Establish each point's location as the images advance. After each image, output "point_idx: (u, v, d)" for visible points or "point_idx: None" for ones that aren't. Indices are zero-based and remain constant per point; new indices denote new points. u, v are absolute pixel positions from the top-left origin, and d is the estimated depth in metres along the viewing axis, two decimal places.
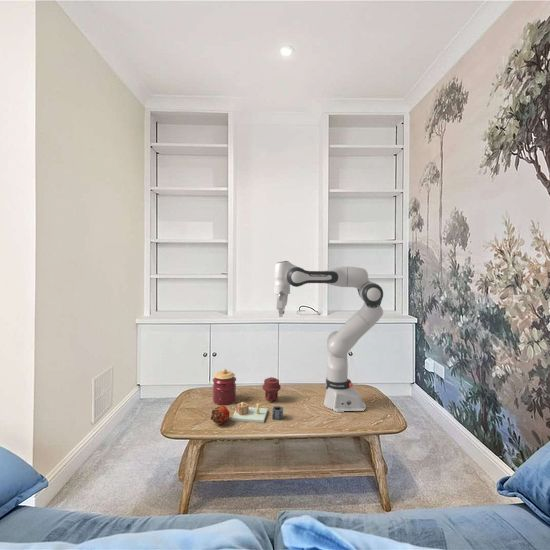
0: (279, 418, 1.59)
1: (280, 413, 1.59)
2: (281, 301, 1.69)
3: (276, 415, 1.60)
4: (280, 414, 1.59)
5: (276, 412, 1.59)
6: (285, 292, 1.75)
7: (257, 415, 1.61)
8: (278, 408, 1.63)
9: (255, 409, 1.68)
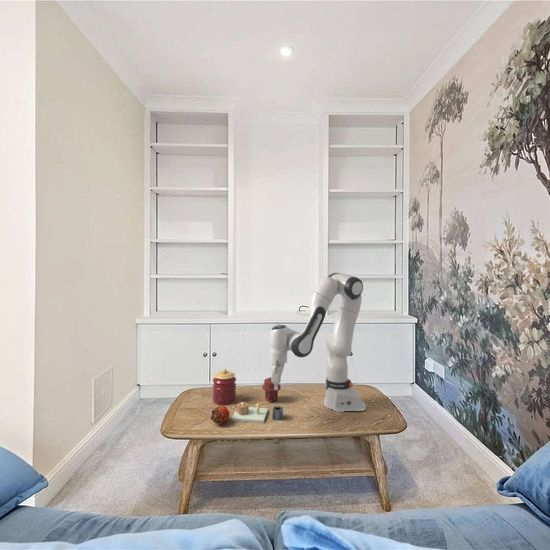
0: (279, 418, 1.59)
1: (280, 413, 1.59)
2: (277, 374, 1.51)
3: (276, 415, 1.60)
4: (280, 414, 1.59)
5: (276, 412, 1.59)
6: (281, 362, 1.57)
7: (257, 415, 1.61)
8: (278, 408, 1.63)
9: (255, 409, 1.68)
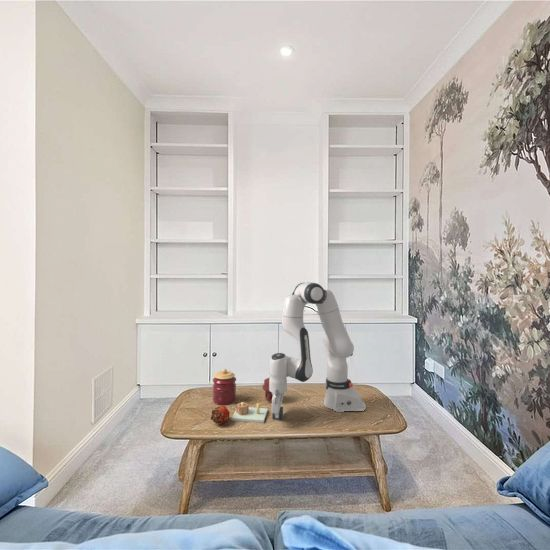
0: (279, 418, 1.60)
1: (280, 413, 1.59)
2: (277, 405, 1.52)
3: None
4: (280, 414, 1.59)
5: None
6: (281, 391, 1.57)
7: (257, 415, 1.61)
8: None
9: (255, 409, 1.68)
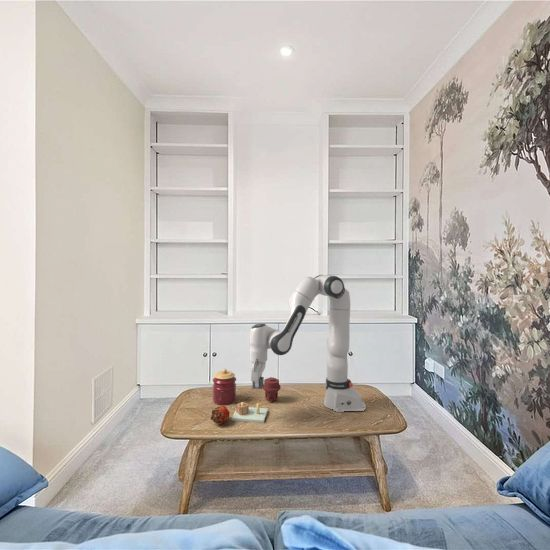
0: (259, 387, 1.60)
1: (260, 382, 1.60)
2: (256, 372, 1.53)
3: None
4: (260, 383, 1.60)
5: None
6: (261, 360, 1.58)
7: (257, 415, 1.61)
8: None
9: (255, 409, 1.68)
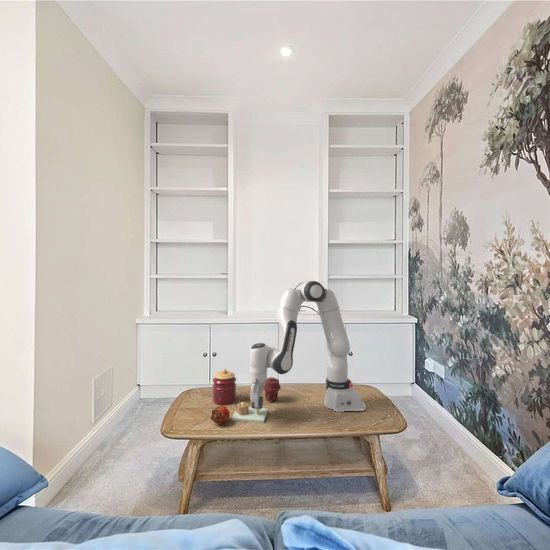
0: (258, 407, 1.61)
1: (259, 402, 1.61)
2: (255, 393, 1.53)
3: None
4: (259, 403, 1.61)
5: None
6: (261, 380, 1.59)
7: (257, 415, 1.61)
8: None
9: (255, 409, 1.68)
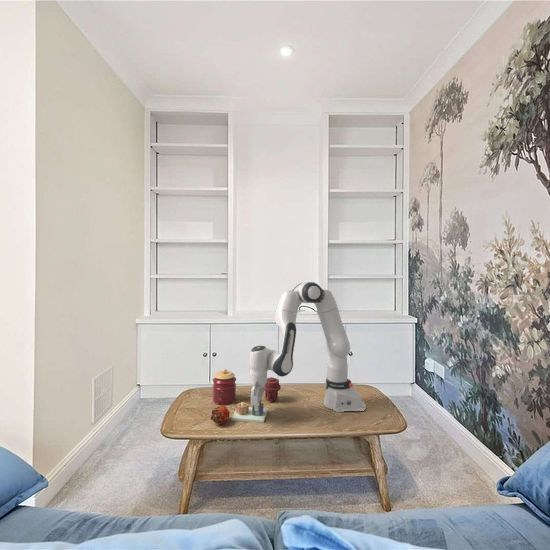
0: (259, 414, 1.61)
1: (260, 409, 1.61)
2: (256, 396, 1.53)
3: (256, 411, 1.61)
4: (260, 410, 1.61)
5: None
6: (261, 383, 1.59)
7: None
8: None
9: None
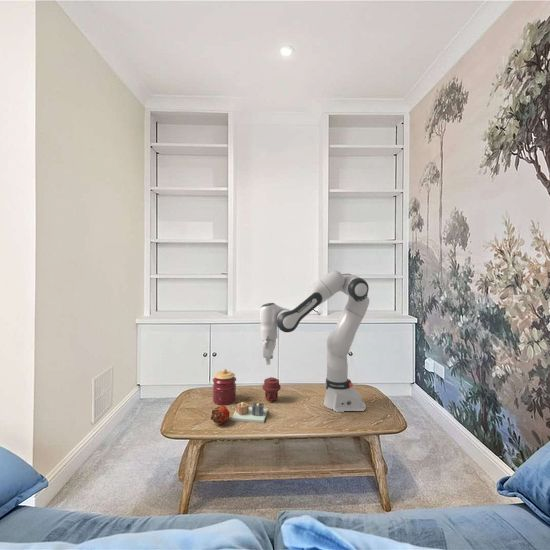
0: (259, 414, 1.61)
1: (260, 409, 1.61)
2: (268, 349, 1.57)
3: (256, 411, 1.61)
4: (260, 410, 1.61)
5: (256, 408, 1.61)
6: (272, 337, 1.63)
7: None
8: None
9: None
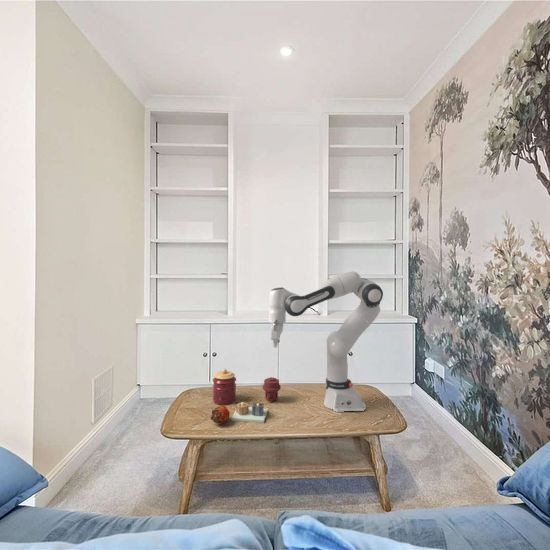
0: (259, 414, 1.61)
1: (260, 409, 1.61)
2: (276, 331, 1.60)
3: (256, 411, 1.61)
4: (260, 410, 1.61)
5: (256, 408, 1.61)
6: (280, 321, 1.66)
7: None
8: None
9: None
